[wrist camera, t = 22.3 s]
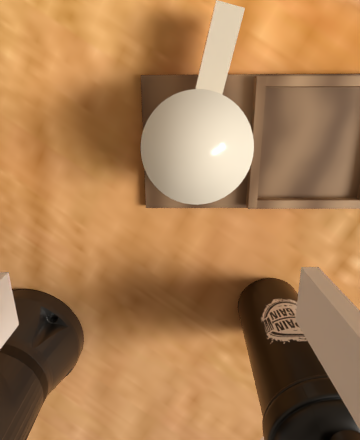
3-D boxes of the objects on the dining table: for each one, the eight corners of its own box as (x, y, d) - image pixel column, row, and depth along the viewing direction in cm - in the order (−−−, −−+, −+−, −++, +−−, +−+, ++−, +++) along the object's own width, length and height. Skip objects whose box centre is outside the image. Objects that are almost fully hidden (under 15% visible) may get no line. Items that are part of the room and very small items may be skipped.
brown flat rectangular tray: (146, 205, 40) (144, 211, 38) (141, 76, 35) (139, 73, 33) (361, 205, 40) (372, 210, 37) (385, 74, 35) (399, 72, 33)
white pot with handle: (223, 192, 38) (235, 215, 30) (142, 173, 38) (131, 190, 29) (269, 33, 33) (300, 4, 24) (176, 8, 32) (173, -31, 24)
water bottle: (309, 273, 43) (441, 438, 21) (298, 336, 46) (403, 535, 24) (234, 271, 43) (288, 434, 21) (229, 334, 46) (271, 532, 24)
